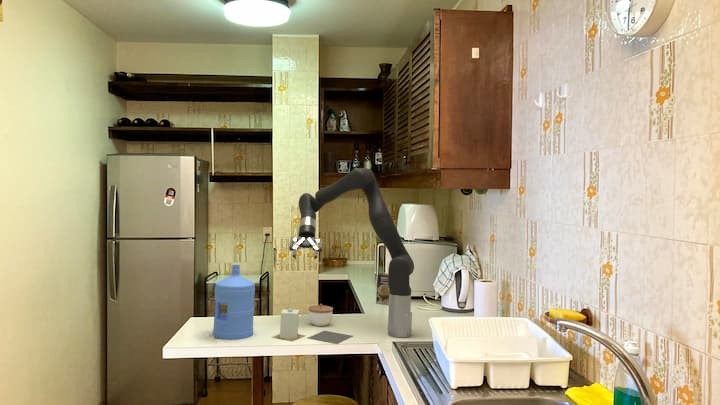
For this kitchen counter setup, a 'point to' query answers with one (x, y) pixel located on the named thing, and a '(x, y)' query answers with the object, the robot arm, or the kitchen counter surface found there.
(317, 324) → the lidded jar
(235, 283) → the water jug
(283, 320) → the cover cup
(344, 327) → the kitchen counter surface
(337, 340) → the mat
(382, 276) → the coffee box
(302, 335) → the coaster
